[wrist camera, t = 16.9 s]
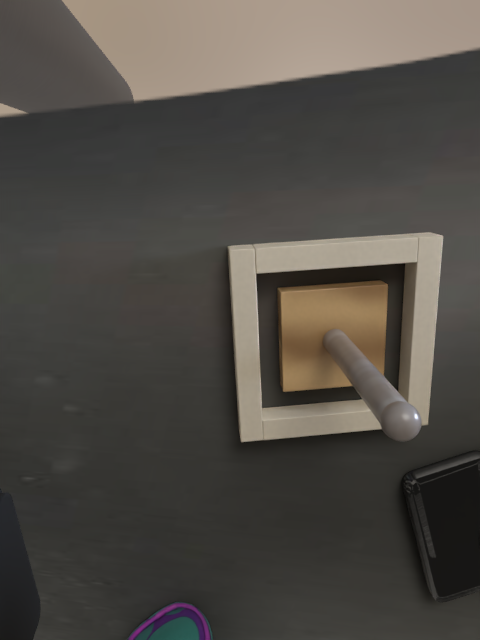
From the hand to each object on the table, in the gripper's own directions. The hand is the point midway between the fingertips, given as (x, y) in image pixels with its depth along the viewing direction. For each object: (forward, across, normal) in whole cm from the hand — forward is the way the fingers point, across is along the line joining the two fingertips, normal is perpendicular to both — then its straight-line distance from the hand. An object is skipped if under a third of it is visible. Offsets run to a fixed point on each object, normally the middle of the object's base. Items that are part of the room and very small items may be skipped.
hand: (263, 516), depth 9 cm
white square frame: (+26, -9, +7) cm, 28 cm away
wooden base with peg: (+26, -9, +7) cm, 28 cm away
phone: (+25, -21, +27) cm, 42 cm away
